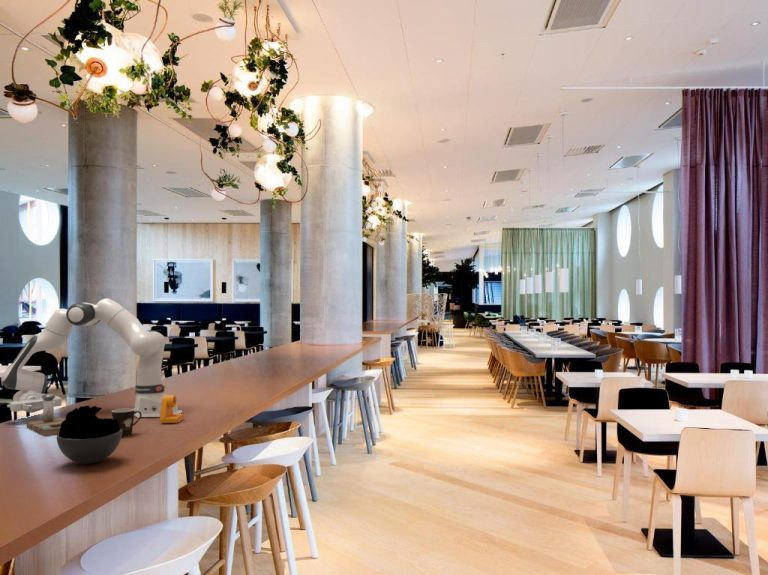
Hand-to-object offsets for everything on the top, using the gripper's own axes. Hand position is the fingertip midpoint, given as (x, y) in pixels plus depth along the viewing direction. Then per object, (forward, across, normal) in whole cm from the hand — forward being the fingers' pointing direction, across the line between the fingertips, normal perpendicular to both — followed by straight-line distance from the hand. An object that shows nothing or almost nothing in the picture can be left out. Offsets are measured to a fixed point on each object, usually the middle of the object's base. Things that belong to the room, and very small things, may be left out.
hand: (41, 406), depth 275 cm
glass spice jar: (+10, 0, +5) cm, 11 cm away
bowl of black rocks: (+83, -10, +8) cm, 84 cm away
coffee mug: (+49, +17, +8) cm, 53 cm away
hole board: (+16, 0, +8) cm, 18 cm away
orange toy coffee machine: (+38, +42, +8) cm, 57 cm away
